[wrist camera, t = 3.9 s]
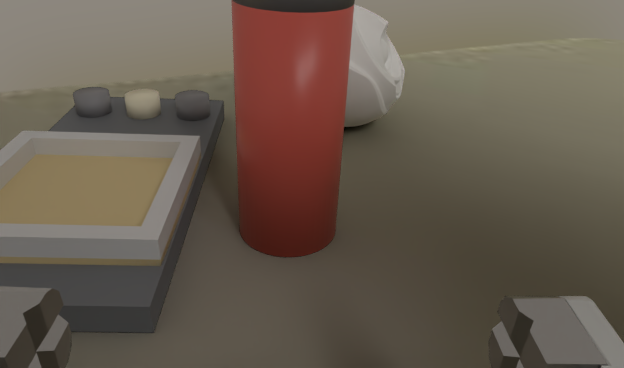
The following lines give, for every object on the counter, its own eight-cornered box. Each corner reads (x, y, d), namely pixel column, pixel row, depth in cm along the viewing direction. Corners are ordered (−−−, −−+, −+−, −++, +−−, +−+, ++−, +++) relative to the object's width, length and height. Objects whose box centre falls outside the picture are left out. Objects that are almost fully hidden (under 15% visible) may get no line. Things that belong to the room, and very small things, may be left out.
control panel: (153, 332, 17) (145, 279, 16) (-116, 328, 17) (-146, 273, 16) (224, 117, 34) (222, 83, 32) (88, 113, 33) (81, 78, 32)
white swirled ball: (383, 156, 30) (401, 23, 26) (265, 134, 32) (265, 7, 28) (404, 109, 36) (421, -2, 33) (305, 94, 38) (310, -13, 34)
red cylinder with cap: (338, 258, 21) (366, -53, 15) (234, 256, 21) (221, -60, 15) (332, 202, 25) (353, -64, 19) (244, 200, 25) (236, -70, 19)
